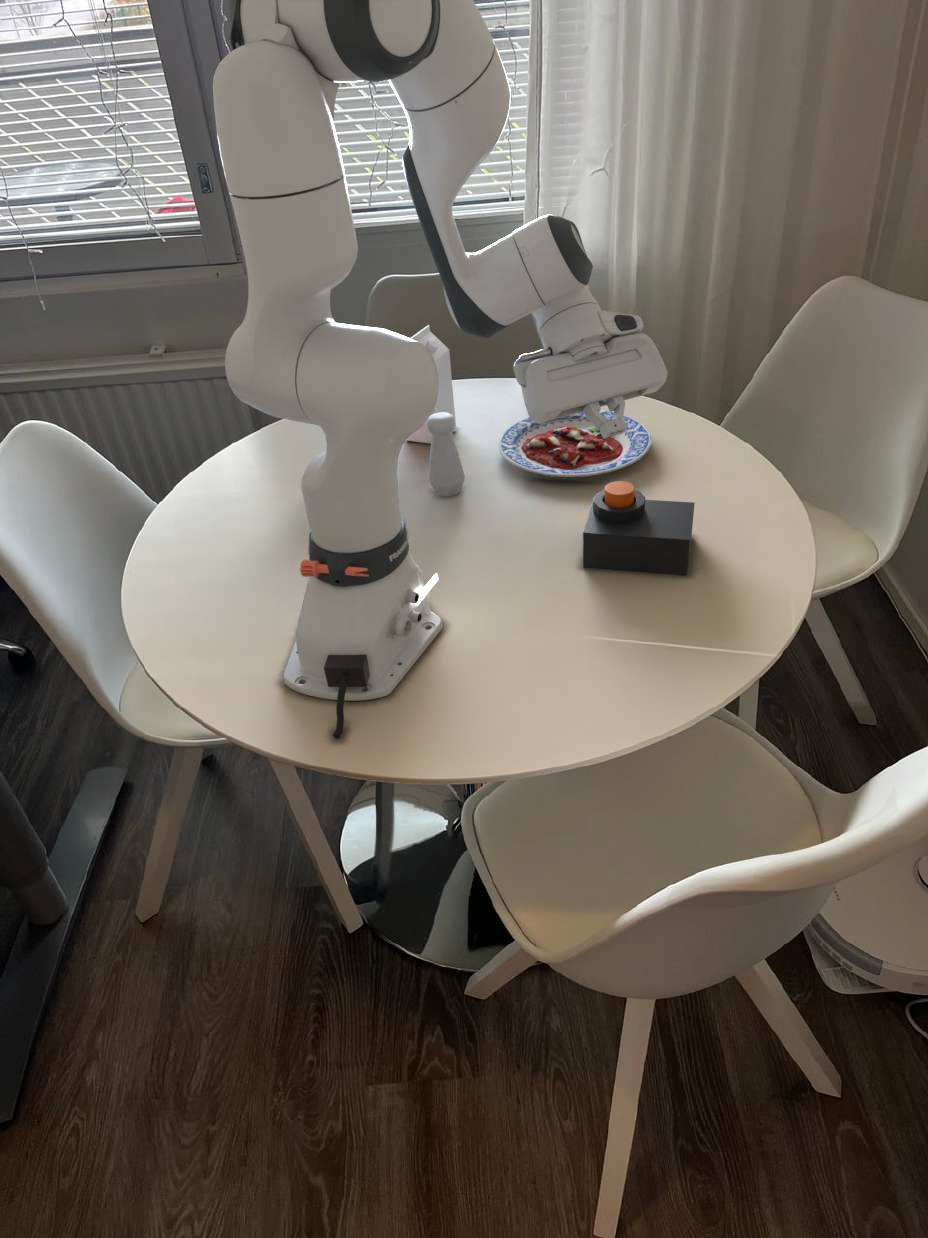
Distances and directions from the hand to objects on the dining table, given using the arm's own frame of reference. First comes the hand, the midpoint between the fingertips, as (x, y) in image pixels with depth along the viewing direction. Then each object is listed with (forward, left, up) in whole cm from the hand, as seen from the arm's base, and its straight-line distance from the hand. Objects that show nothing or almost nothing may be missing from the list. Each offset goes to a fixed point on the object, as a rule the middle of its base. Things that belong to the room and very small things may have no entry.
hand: (615, 434), depth 115 cm
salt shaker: (+12, +28, -17) cm, 35 cm away
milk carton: (+32, +37, -17) cm, 52 cm away
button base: (-2, -4, -17) cm, 17 cm away
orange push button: (-1, -1, -10) cm, 10 cm away
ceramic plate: (+28, +10, -17) cm, 34 cm away
